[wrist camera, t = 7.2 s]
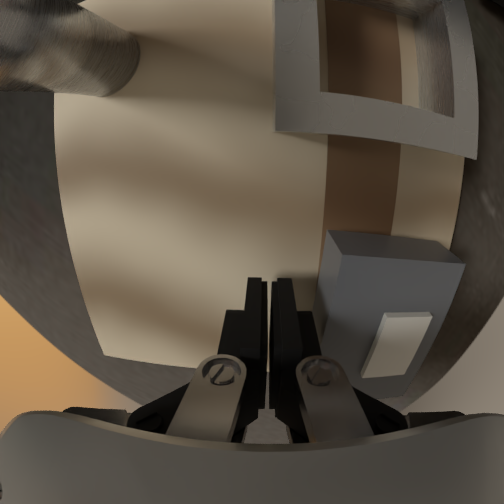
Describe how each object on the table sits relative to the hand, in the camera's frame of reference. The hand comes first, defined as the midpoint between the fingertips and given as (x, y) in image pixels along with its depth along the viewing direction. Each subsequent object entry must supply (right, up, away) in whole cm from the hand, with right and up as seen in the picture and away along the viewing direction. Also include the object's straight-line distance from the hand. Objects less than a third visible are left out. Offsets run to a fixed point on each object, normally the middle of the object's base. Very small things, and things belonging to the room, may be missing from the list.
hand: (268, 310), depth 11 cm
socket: (+4, +10, -3) cm, 11 cm away
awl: (-6, +10, -3) cm, 12 cm away
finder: (+4, 0, +1) cm, 4 cm away
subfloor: (0, +5, 0) cm, 5 cm away
